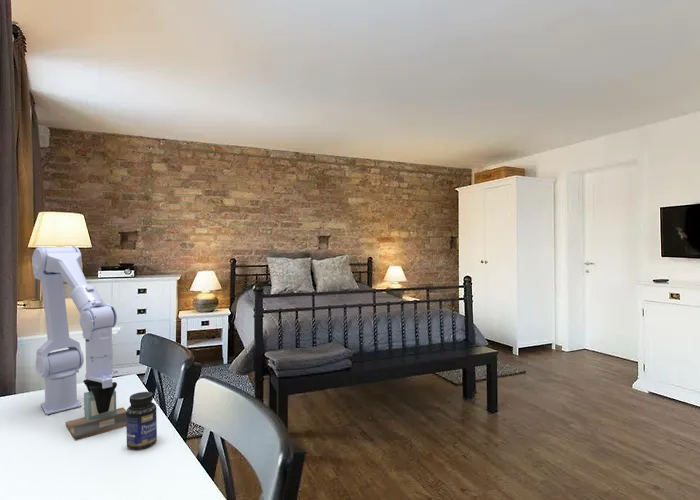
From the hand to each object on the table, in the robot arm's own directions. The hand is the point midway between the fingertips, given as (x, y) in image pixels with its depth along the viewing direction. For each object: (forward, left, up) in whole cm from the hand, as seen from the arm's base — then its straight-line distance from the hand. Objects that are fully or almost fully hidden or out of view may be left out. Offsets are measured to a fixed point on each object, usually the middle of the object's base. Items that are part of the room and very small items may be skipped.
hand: (100, 409), depth 105 cm
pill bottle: (+18, +4, -4) cm, 19 cm away
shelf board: (0, 0, -4) cm, 4 cm away
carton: (0, 0, -2) cm, 2 cm away
